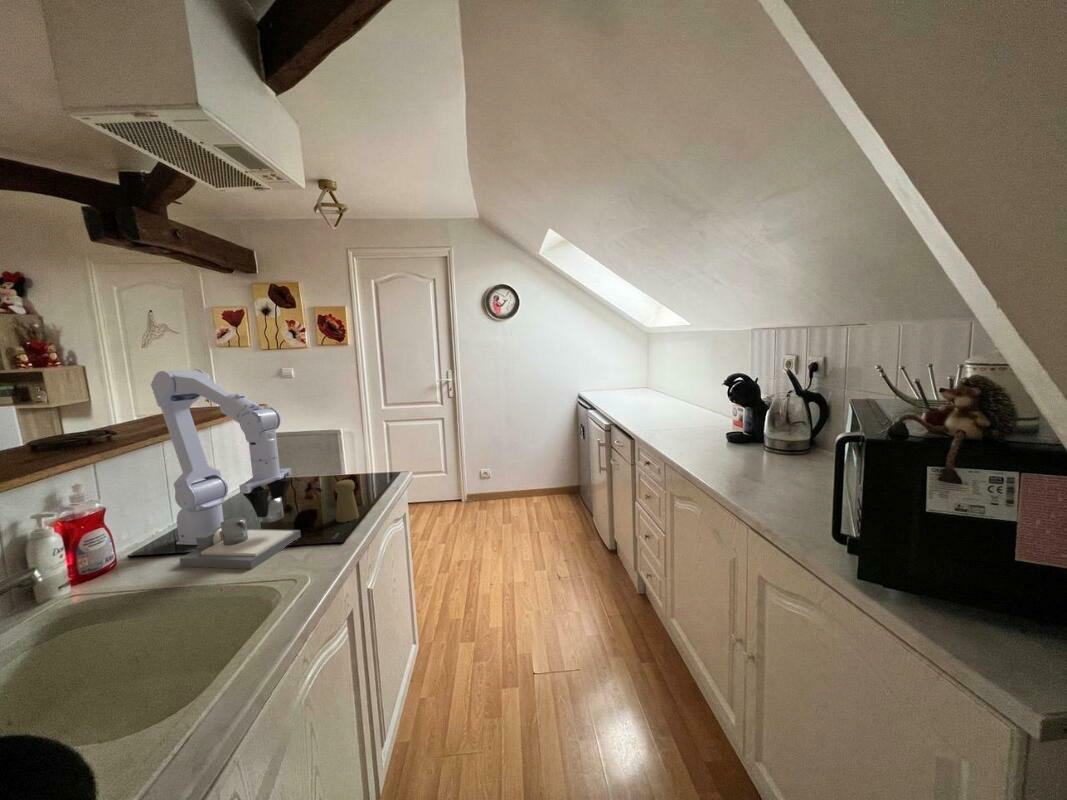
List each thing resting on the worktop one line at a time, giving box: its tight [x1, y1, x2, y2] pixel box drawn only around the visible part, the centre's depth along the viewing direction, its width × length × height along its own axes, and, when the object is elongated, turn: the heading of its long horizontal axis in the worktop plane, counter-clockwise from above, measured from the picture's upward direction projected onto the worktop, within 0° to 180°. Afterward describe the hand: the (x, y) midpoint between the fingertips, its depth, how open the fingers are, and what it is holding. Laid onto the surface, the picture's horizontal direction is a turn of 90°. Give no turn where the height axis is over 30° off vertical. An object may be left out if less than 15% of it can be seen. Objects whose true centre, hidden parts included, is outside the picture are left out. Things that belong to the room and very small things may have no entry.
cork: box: [334, 479, 360, 523], centre depth 121 cm, size 6×6×11 cm
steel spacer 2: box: [259, 495, 285, 524], centre depth 104 cm, size 5×5×5 cm
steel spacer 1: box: [221, 516, 248, 545], centre depth 102 cm, size 5×5×5 cm
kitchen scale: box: [179, 526, 302, 570], centre depth 102 cm, size 18×16×6 cm
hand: (270, 512), depth 104 cm, fingers closed on steel spacer 2, 5 cm apart
